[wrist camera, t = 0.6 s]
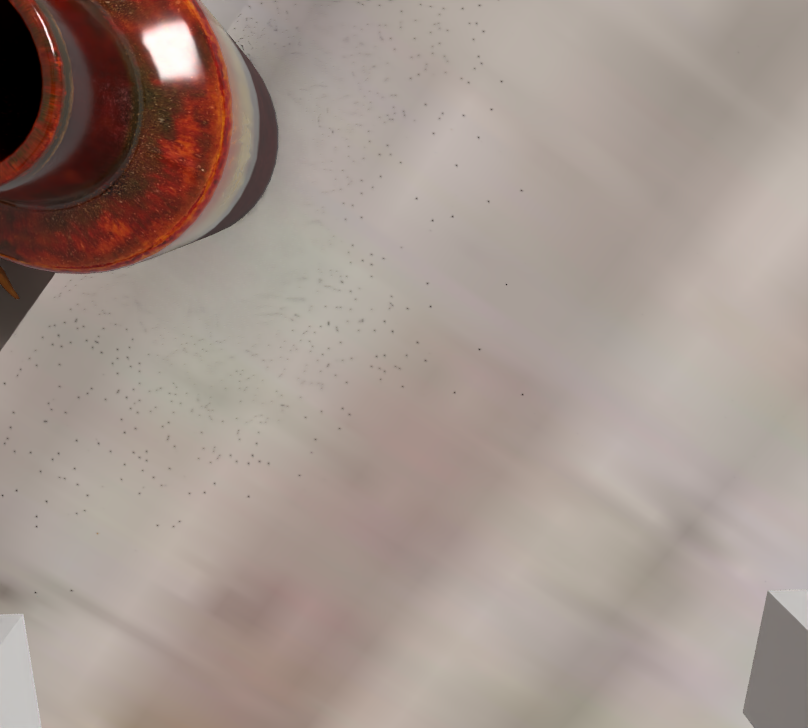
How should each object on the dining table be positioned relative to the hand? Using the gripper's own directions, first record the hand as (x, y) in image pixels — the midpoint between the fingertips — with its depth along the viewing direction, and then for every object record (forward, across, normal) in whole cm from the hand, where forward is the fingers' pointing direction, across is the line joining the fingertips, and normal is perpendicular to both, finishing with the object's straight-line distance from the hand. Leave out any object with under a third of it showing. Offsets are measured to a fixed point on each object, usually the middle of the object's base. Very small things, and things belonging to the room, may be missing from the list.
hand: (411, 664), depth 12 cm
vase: (+27, -10, +10) cm, 31 cm away
